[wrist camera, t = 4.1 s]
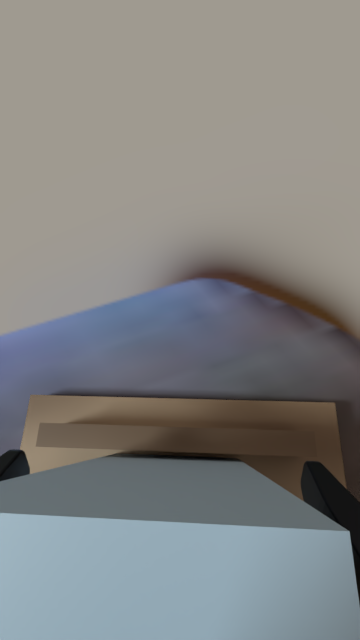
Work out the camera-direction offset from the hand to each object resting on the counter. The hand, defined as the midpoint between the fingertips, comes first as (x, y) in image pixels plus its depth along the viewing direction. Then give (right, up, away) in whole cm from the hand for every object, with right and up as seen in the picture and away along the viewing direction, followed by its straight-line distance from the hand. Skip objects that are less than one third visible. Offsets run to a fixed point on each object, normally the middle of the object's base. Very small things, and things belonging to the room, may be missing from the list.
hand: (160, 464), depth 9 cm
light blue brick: (0, -4, +5) cm, 7 cm away
